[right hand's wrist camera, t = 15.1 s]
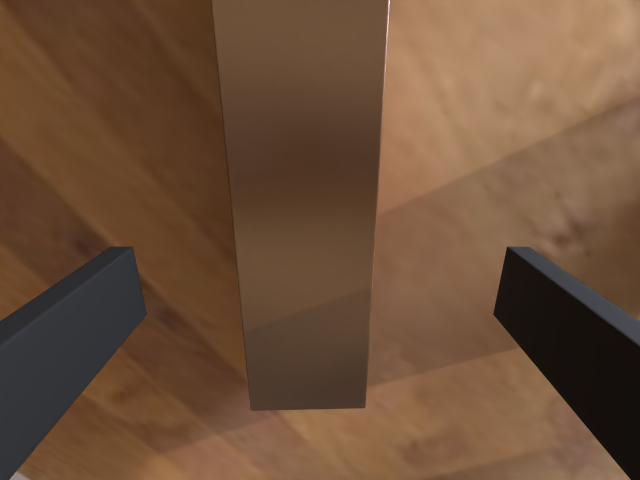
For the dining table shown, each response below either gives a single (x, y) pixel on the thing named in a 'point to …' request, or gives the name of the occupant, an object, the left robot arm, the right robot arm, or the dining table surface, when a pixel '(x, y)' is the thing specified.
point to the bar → (303, 189)
